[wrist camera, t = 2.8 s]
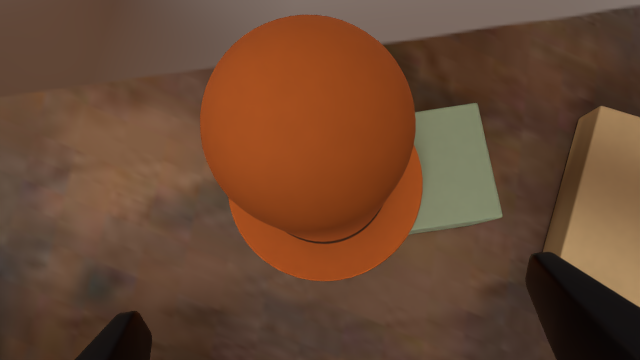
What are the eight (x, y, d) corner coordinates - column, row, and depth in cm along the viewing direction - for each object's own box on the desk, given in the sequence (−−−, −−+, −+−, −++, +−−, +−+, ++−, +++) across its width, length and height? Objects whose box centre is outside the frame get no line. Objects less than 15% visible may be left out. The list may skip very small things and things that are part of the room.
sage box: (471, 225, 21) (504, 217, 17) (297, 250, 22) (285, 249, 17) (451, 132, 22) (478, 101, 18) (285, 157, 23) (270, 134, 18)
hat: (437, 265, 17) (576, 279, 7) (241, 293, 17) (90, 347, 7) (401, 80, 18) (472, -138, 8) (222, 108, 19) (74, -69, 8)
